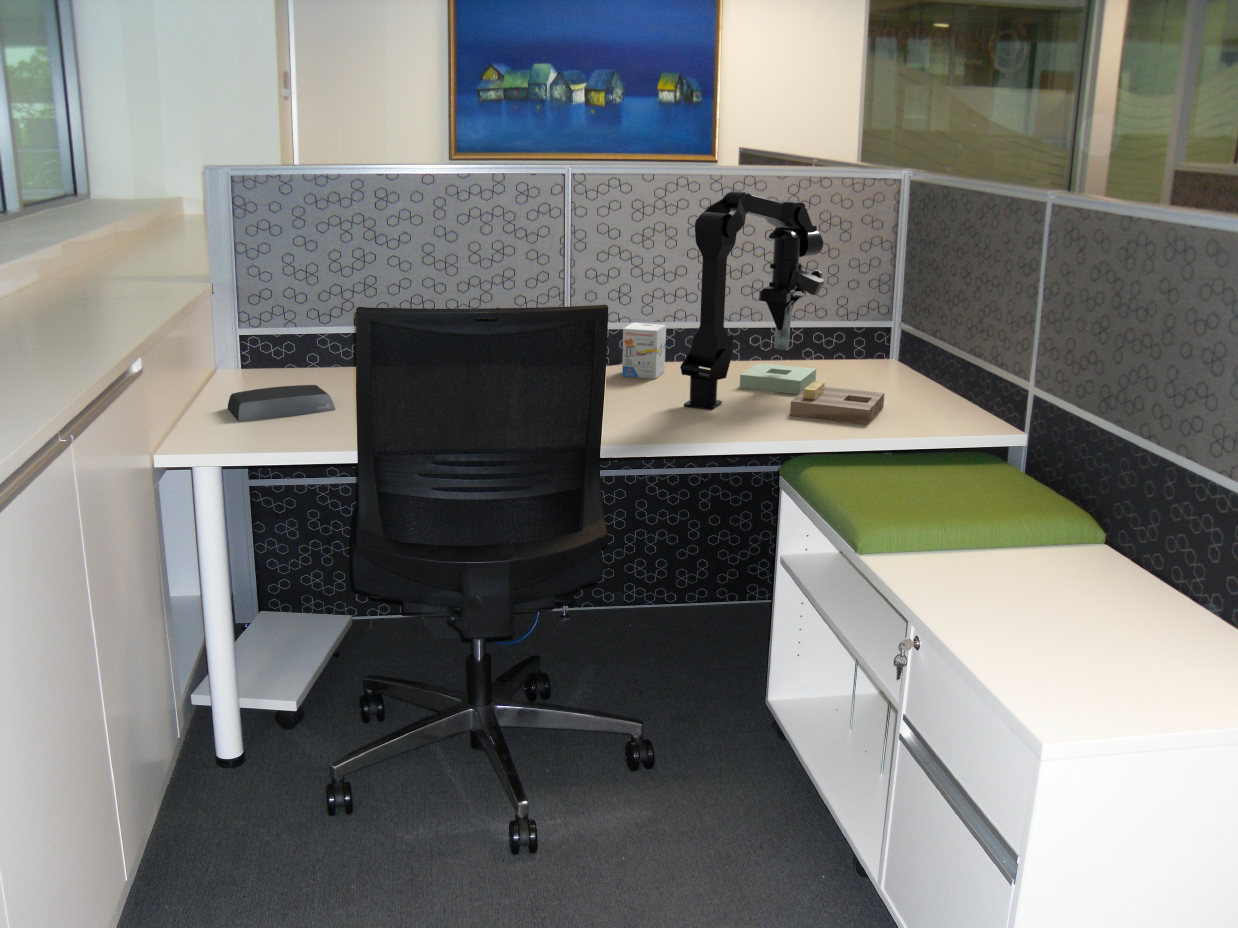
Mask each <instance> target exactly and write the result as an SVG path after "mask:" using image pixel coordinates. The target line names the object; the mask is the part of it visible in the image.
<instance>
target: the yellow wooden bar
mask: <svg viewBox="0 0 1238 928" xmlns="http://www.w3.org/2000/svg"><path fill="white" fill-rule="evenodd" d="M825 383H826V382H825V381H817V380H816V381H813V382H812V383H811V384H809V385H808V386H807V387H806V388H805V389H804V394H803V399H812V400H815V399H816V398H817V397H818V396H820V395H821V394H822V393H823V392H824V387H825V385H826V384H825Z"/></svg>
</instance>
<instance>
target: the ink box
mask: <svg viewBox="0 0 1238 928" xmlns="http://www.w3.org/2000/svg"><path fill="white" fill-rule="evenodd" d="M666 338H667V325H666V324H653V323H646V322H645V323H643V322H632V323H630V324H628V325H627V326H625V327H623V328H622V371H621V372H622V374H621V375H622V377H623V378H624V377H626V378H640V379H651V380H652V379H654V380H656V379H658V377H660V376H662V374H663V373H664V372H665V368H666V366H665V365H666V363H665V362H666Z"/></svg>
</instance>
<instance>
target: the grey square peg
mask: <svg viewBox="0 0 1238 928" xmlns="http://www.w3.org/2000/svg"><path fill="white" fill-rule="evenodd" d="M791 310H792V311H793V309H792V304H790V305H789V306H788V307H787V311H786V316H785V321H784V325H783V329H782V330H778V329H777V327H776V326H775V333H774V345H773V346H774V349H776V350H782V351H783V350H785V351H786V350H789V345H790V333H791V324H792V323H791V320H792V312H791Z"/></svg>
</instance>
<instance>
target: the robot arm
mask: <svg viewBox="0 0 1238 928" xmlns="http://www.w3.org/2000/svg"><path fill="white" fill-rule="evenodd" d="M731 212H734V213H733V214H731ZM746 215H750V216H751V215H752V216H753V217H758V218H764V219H765V220H766V222H767V223H768V224H770V225H772V226H774V227H775V228H774V230H773V231H772V232H771V233H769V235H768V239H770V240H773V253H772V254H773V255H772V256H773V257H772V263H770V265H769V269H771V271H772V272H771V273H772V274H771V281H770V282H769V283H768V286H765V287H763V288H762V289H761V290H760V291H759V295H758V296H759V297H758V301H759V302H765V303H766V305H767V308H768V309H769V312H770V314H771V316H772V319H773V322H774V324H775V328H776V327H777V329H778V330H782V329H783V325H784V321H785V316H786V311H787V307H788V306H789V305H790V304H792V310H791V313H792V312H793V309H794V307H795V304H796V303H797V302H798V301H799V300H800V299H802V297H803V295H797V292H801V293H802V294H806V293H808V294H810V295H812V296H816V295H817V294H820V291H821V289H822V287H823V286H824V285H825V283H824V282H825V278H823V272H822V271H820V270H819V269H814V271H812V272H809V271H806V270H803V264H802V263H801V262H800V258H803V257H810V256H817V255H818V254H819V253H821V252H822V250H823V248H824V240H823V237H822V235H821V233H820V232H819V231H818V230H817V228H818V227H817V225H814V224H813V223H812V221H811V218H810V215H809V213H808V210H807V208H806V204H805V202H803V201H796V200H795V201H792V200H779V199H778V200H773V199H769V198H766V197H761V196H757V195H754V194H750V193H749V192H747V191H729V192H727V193H726V194H725V195H724V196H723V197H722V198H721V199H720V200H717V201H716V202H715V203H713V204H711V205H709V206H708V207H707V208H706V209H705V210H704V211H703V212H701V214H699V216H698V218H696V219H695V221H694V222H695V223H694V236H695V244H696V246H697V248H698V250H699V252H700V255H701V258H702V268H701V286H700V287H701V288H700V289H701V291H700V292H701V294H700V314H699V315H700V317H699V320H700V322H699V327H698V329H697V330H696V331H695V333H694V335H693V337H692V338H691V343H690V350H689V352H688V353H687V354H686V356H685V358H684V359H683V361H682V362H681V364H680V367H679V368H680V372H681V373H680V374H681V375H682V376H689V400H687V401H685V402H684V403H683V406H684V407H688V408H689V407H690V408H699V409H705V410H706V409H707V410H714V409H715V408H716V407H718V406H719V405H721V404H722V403H723V401H722V400H719V399H717V398H718V397H717V395H718V381H719V380H723V379H727V376H728V372H729V367H730V364H731V361H732V360H731V359H732V355H733V354H734V352H733V351H734V350H733V344H734V336H733V334H731V333H730V334H729V333H727V330H726V329H725V310H726V309H725V308H726V307H725V306H726V305H725V304H726V283H727V261H728V256H729V255H730V253H731V251H732V250H733V248H734V247H735V245H736V241H737V234H738V233H739V231H740V230H742V228H743V227H744V226H745V224H746Z"/></svg>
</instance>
